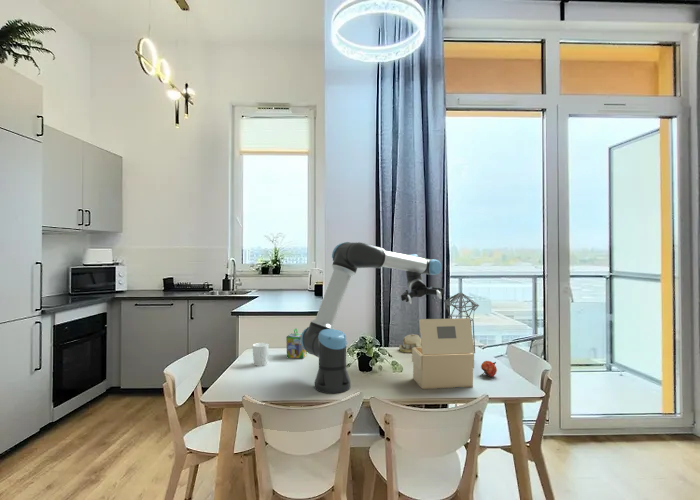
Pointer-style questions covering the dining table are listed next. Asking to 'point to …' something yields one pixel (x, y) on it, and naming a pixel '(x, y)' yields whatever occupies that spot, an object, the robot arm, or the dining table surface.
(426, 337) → the lid flap
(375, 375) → the dining table surface
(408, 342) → the ceramic model
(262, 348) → the white cup
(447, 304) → the geometric lantern
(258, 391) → the dining table surface
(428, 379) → the carton
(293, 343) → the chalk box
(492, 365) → the pomegranate
